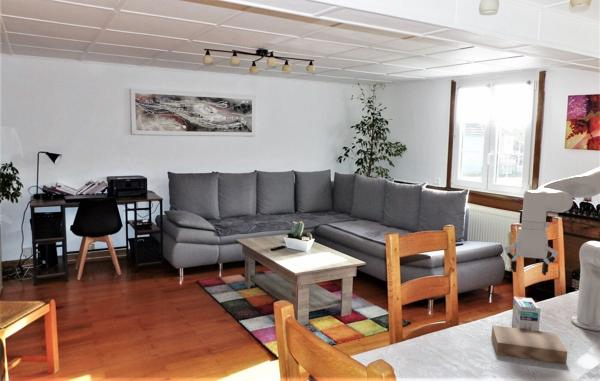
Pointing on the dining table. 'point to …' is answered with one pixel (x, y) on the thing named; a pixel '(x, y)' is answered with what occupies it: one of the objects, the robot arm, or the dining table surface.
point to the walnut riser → (528, 344)
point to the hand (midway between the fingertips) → (528, 272)
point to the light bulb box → (525, 314)
